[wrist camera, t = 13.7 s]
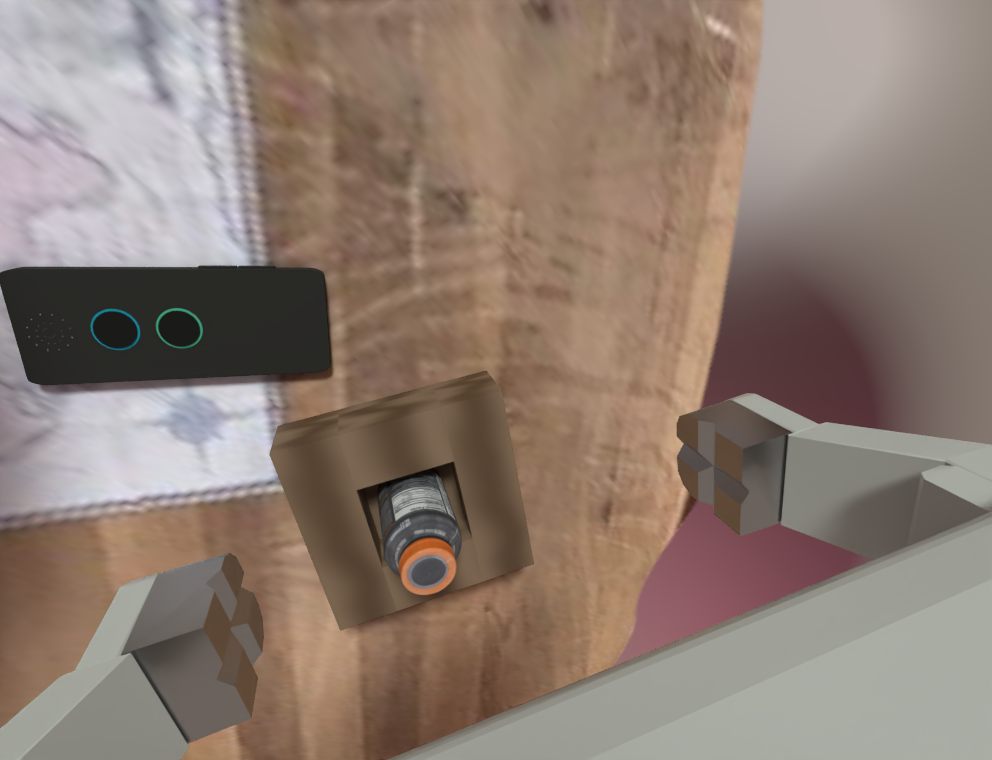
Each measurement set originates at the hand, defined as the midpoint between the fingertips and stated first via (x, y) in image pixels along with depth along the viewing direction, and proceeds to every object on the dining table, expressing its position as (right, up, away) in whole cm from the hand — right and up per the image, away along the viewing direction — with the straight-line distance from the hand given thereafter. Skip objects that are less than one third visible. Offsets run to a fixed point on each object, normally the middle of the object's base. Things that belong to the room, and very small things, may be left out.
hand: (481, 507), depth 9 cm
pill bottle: (-8, -8, +37) cm, 39 cm away
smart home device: (-23, +7, +29) cm, 38 cm away
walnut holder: (-8, -7, +38) cm, 39 cm away
